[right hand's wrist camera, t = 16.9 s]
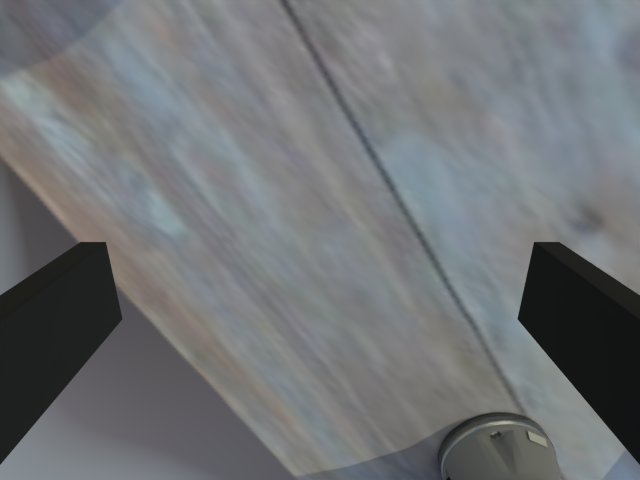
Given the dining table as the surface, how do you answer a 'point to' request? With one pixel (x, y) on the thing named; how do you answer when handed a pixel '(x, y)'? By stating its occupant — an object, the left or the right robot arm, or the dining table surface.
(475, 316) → the dining table surface
